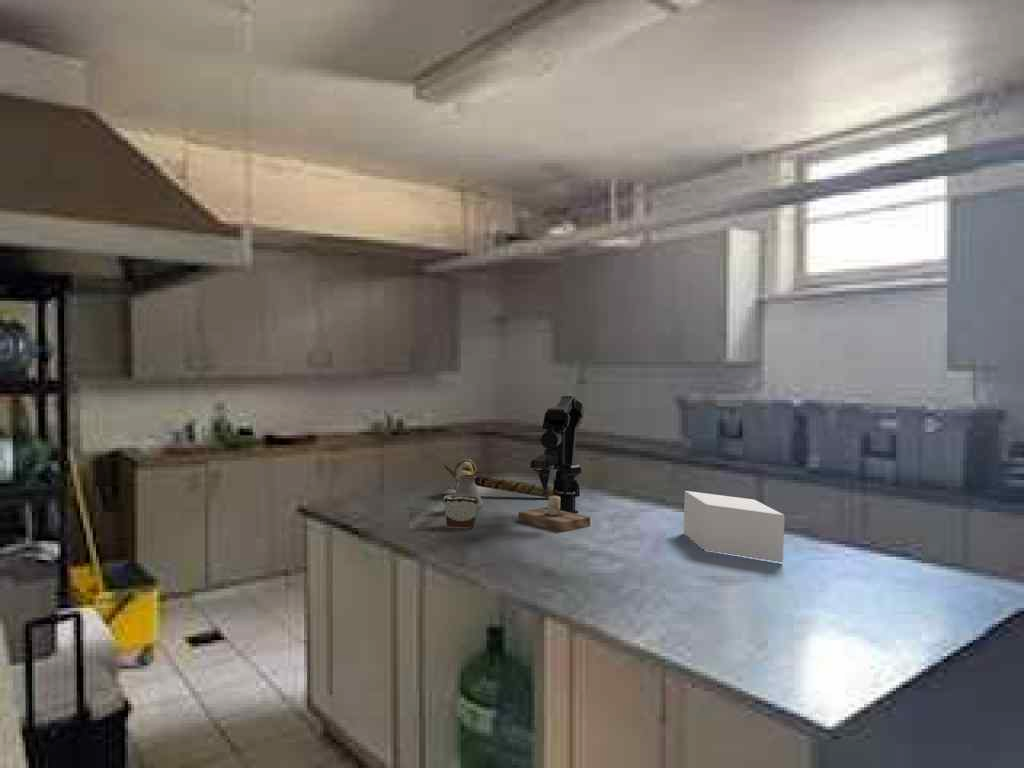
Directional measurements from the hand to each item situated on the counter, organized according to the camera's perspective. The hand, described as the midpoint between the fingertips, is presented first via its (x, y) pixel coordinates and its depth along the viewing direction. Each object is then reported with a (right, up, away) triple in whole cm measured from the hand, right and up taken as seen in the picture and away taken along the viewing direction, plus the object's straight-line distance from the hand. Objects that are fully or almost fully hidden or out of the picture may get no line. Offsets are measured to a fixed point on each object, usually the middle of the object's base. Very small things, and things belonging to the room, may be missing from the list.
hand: (554, 491), depth 254 cm
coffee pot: (-34, -9, +20) cm, 40 cm away
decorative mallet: (-18, -9, +45) cm, 49 cm away
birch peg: (0, -11, +1) cm, 11 cm away
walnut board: (0, -11, +1) cm, 11 cm away
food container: (-31, -11, -6) cm, 33 cm away
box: (+51, -14, -26) cm, 59 cm away
